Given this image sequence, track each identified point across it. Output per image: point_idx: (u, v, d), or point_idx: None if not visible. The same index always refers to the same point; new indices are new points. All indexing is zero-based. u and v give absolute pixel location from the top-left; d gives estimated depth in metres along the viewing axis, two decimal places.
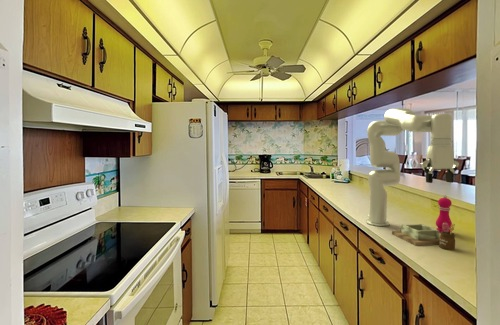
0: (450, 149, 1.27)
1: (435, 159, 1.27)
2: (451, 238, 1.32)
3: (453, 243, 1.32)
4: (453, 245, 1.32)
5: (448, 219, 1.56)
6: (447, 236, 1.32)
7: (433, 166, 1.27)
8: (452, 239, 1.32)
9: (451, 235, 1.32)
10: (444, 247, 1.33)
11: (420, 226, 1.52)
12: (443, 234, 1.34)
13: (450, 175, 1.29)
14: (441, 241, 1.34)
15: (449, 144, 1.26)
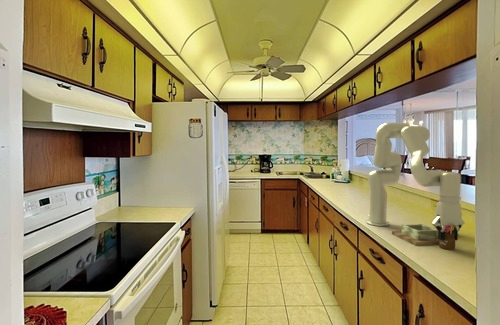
0: (458, 206, 1.31)
1: (444, 216, 1.31)
2: (451, 238, 1.32)
3: (453, 243, 1.32)
4: (453, 245, 1.32)
5: None
6: (447, 236, 1.32)
7: (442, 223, 1.31)
8: (452, 239, 1.32)
9: (451, 235, 1.32)
10: (444, 247, 1.33)
11: (420, 226, 1.52)
12: None
13: (454, 233, 1.34)
14: (441, 241, 1.34)
15: (458, 202, 1.30)
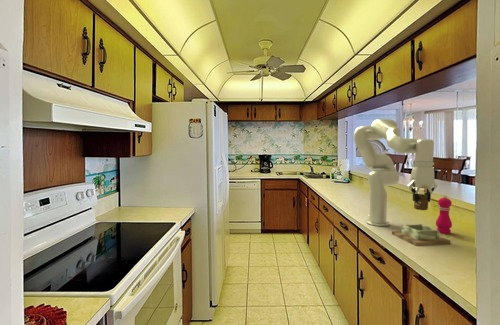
0: (431, 171, 1.43)
1: (418, 179, 1.43)
2: (424, 199, 1.44)
3: (426, 204, 1.44)
4: (426, 206, 1.44)
5: (448, 219, 1.56)
6: (421, 198, 1.44)
7: (416, 185, 1.43)
8: (425, 200, 1.44)
9: (424, 197, 1.44)
10: (418, 208, 1.45)
11: (420, 226, 1.52)
12: None
13: (428, 195, 1.46)
14: (415, 202, 1.46)
15: (431, 166, 1.42)
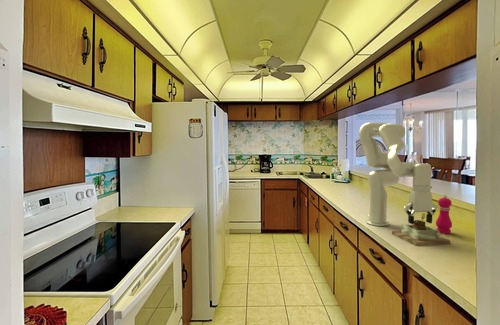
0: (429, 195, 1.45)
1: (416, 204, 1.44)
2: (422, 226, 1.45)
3: None
4: None
5: (448, 219, 1.56)
6: (419, 224, 1.46)
7: (414, 209, 1.45)
8: (423, 227, 1.45)
9: (422, 223, 1.45)
10: None
11: None
12: (415, 222, 1.47)
13: (429, 217, 1.47)
14: None
15: (428, 191, 1.43)
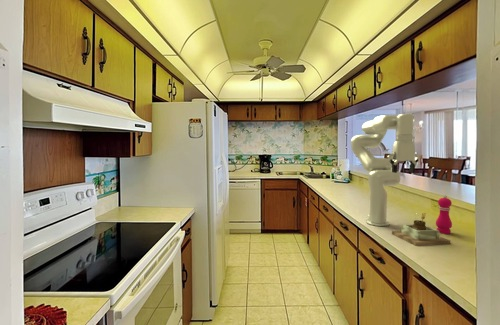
0: (412, 144, 1.50)
1: (399, 152, 1.49)
2: (422, 226, 1.45)
3: None
4: None
5: (448, 219, 1.56)
6: (419, 224, 1.46)
7: (397, 158, 1.49)
8: (423, 227, 1.45)
9: (422, 223, 1.45)
10: None
11: None
12: (415, 222, 1.47)
13: (412, 166, 1.52)
14: None
15: (411, 140, 1.48)
